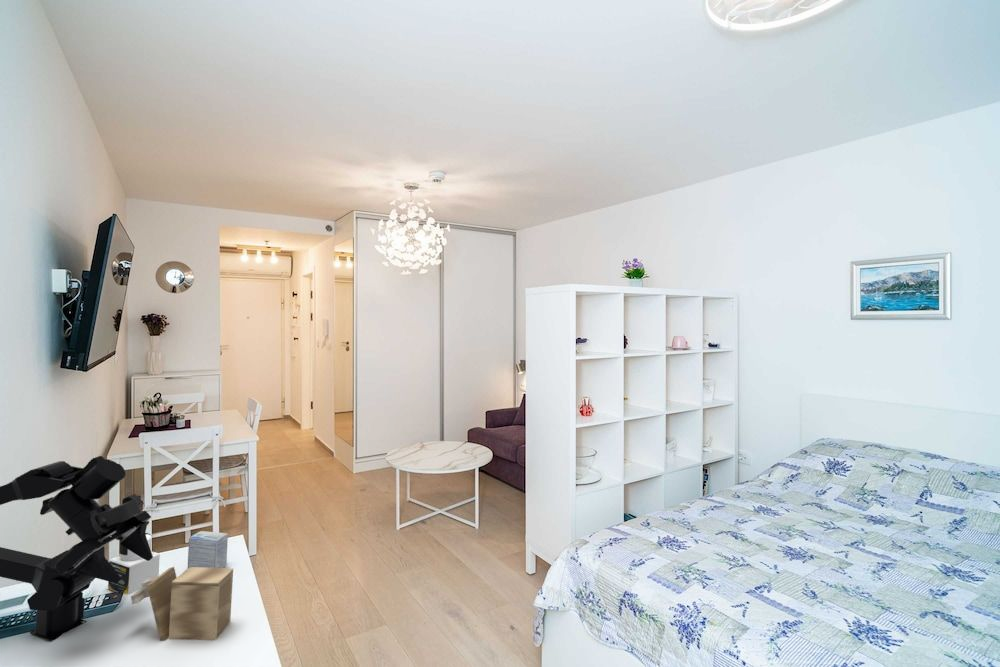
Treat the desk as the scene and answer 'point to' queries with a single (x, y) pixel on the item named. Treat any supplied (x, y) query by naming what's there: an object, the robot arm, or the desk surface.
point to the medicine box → (208, 550)
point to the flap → (158, 599)
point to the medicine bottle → (133, 569)
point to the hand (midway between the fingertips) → (135, 569)
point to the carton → (200, 603)
